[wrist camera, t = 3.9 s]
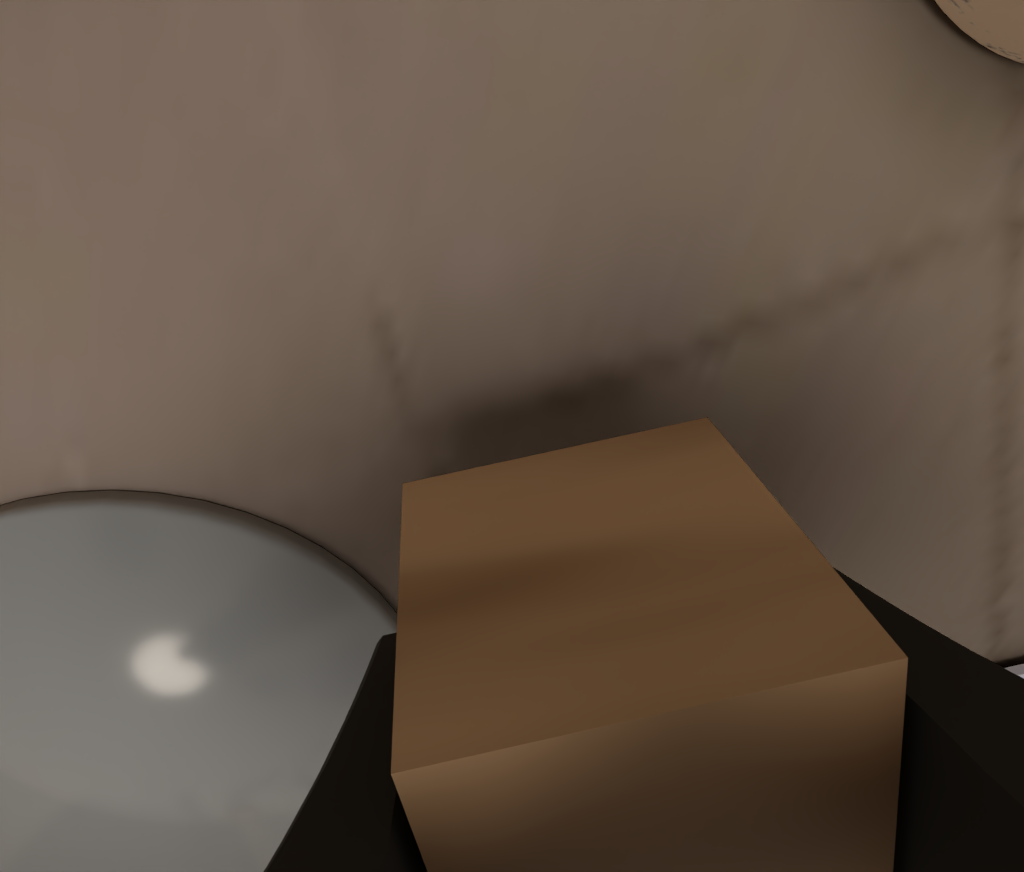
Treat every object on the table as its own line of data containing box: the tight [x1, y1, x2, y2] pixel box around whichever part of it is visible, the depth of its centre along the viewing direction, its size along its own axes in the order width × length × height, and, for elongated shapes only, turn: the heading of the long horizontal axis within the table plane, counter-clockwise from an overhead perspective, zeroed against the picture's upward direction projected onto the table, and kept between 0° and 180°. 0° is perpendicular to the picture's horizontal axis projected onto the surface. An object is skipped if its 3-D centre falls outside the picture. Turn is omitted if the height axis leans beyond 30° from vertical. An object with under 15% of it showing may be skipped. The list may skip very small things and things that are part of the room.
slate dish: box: [0, 490, 397, 872], centre depth 17 cm, size 13×13×1 cm
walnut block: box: [391, 417, 908, 872], centre depth 10 cm, size 4×4×5 cm
